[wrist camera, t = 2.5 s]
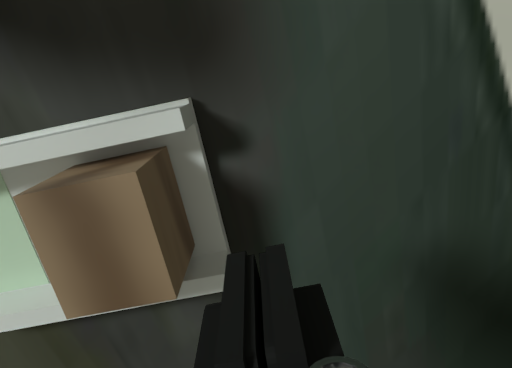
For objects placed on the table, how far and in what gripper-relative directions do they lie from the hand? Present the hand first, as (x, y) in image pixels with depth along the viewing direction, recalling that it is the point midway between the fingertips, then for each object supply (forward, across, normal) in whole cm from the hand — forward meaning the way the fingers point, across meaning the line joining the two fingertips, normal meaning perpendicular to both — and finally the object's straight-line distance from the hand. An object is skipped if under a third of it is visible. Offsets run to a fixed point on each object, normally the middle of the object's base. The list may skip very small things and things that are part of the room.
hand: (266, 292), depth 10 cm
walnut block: (+13, +8, +1) cm, 15 cm away
